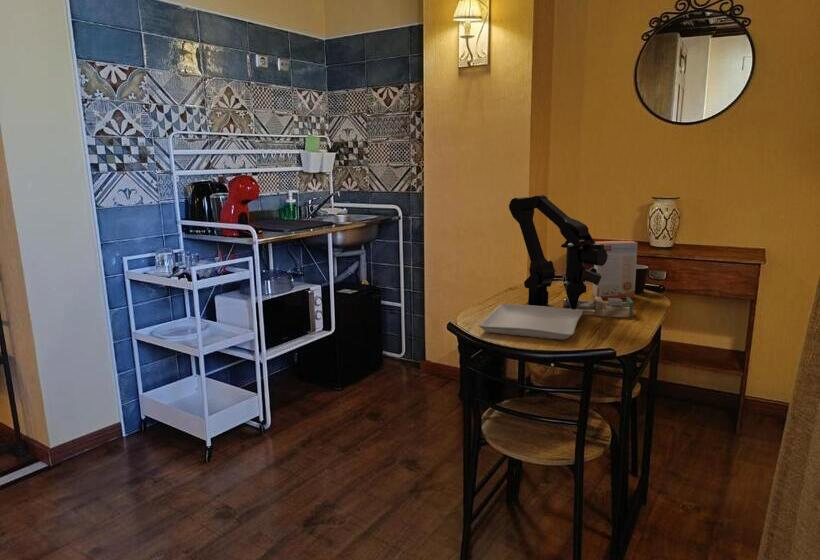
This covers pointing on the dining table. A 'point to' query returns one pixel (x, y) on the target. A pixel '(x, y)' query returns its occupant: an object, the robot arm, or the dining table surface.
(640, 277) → the coffee mug
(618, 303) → the block
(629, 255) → the cracker box
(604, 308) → the bearing bed
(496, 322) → the square plate
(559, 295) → the dining table surface
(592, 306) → the shaft
